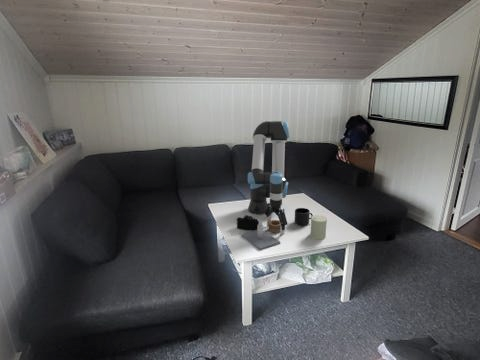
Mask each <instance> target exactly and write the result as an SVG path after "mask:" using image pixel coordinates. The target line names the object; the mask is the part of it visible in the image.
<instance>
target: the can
mask: <svg viewBox="0 0 480 360" xmlns="http://www.w3.org/2000/svg"><path fill="white" fill-rule="evenodd" d="M310 218H311V219H310V234H309V236H310V237H311V238H312V239H315V240H324V239H325V238H327V236H326V235H327V223H328V222H327V221H328V218H327V217H325V216H323V215H318V214H317V215H316V214H315V215H313V216H312V217H310Z"/></svg>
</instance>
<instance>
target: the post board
mask: <svg viewBox="0 0 480 360" xmlns="http://www.w3.org/2000/svg"><path fill="white" fill-rule="evenodd" d="M241 237H242V238H244V239H245V240H246V241H248V242H249V243H250V244H251V245H253V246H254V247H255V248H257V249H258V250H259V251H262V250H265V249H268V248H272V247H274V246H276V245H280V244H281V241H280V240H279V239H277V238H275V237H274V236H273V235H271V234H270V233H268V232H266V231H265V230H264V224H263V222H260V221H259V225H257V230H254V231H247V232H244V233H241Z"/></svg>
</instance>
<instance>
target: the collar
mask: <svg viewBox="0 0 480 360" xmlns="http://www.w3.org/2000/svg"><path fill="white" fill-rule="evenodd" d="M280 225H281V223H280V220H279V219H278V220H277V219H271V221H269V223H268V227H267V228H268V229H267V231H268V232H270V233H271V234H280Z"/></svg>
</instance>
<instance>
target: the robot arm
mask: <svg viewBox="0 0 480 360" xmlns="http://www.w3.org/2000/svg"><path fill="white" fill-rule="evenodd" d="M267 139H270V142H271V144H272V154H271V155H272V157H271V158H272V159H271V160H272V162H271V163H272V165H271V172H264V166H265V164H264V162H265V146H266V141H267ZM288 139H290V130H289V123H288V122H287V121H284V120H283V121H282V120H281V121H280V120H279V121H278V120H274V121H267V120H266V121H262V122H261V123H260V124H258V125H257V127H256V128H255V129H254V132H253V134H252V140H253V147H252V148H253V149H252V162H251V171H249V172H248V173H247V183H248V185H250V187H249V188H250V200H249V205H248V206H247V207H248V208H247V210H248V213H249V214H253V215H265V217H266V227H267V228H268V223H269V221H272V215H273V213H274V214H276V216H277V218H278V220H279V221H280V223H281V225H280V233H279V234H280V236H283V235H285V229H286V226H288V219H287V216H286V213H285V208H281V207H282V205H283V199H284V198H285V199H286V198H287V194H288V189H289V188H288V186H289V181H287V179H286V178H285V158H286V157H285V153H286V152H285V151H286V148H285V147H286V144H285V143H287V142H288ZM267 199H269V202H268V200H267Z"/></svg>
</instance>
